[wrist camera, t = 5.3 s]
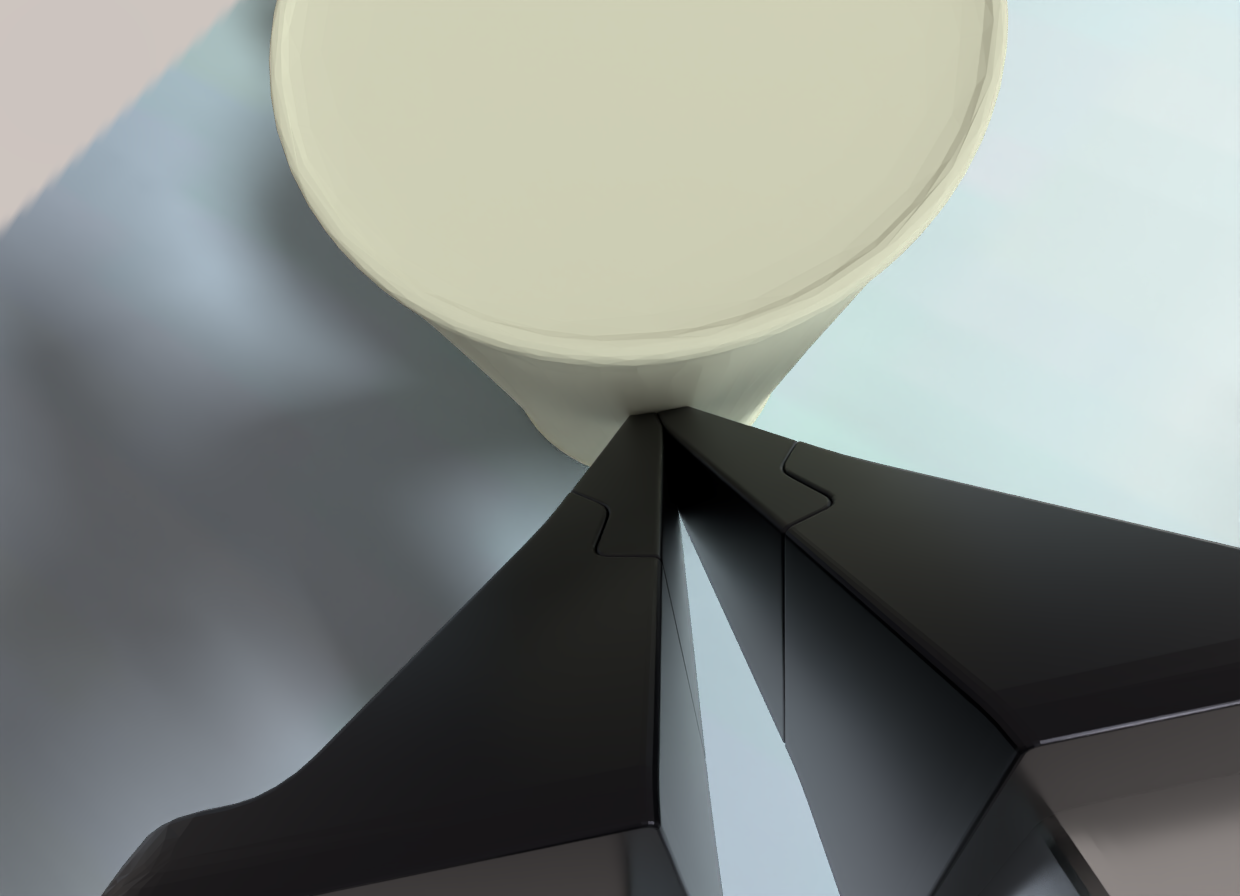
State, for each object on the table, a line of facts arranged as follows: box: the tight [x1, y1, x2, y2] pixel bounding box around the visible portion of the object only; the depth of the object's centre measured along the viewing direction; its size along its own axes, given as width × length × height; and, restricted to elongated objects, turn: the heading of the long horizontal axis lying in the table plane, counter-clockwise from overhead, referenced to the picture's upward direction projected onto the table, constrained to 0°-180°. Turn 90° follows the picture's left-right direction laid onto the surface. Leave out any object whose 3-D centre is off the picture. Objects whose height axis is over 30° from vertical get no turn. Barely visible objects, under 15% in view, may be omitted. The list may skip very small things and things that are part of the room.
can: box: [269, 0, 1008, 467], centre depth 12 cm, size 9×9×12 cm
